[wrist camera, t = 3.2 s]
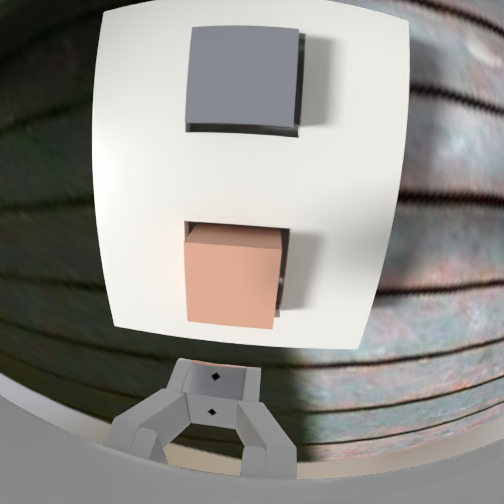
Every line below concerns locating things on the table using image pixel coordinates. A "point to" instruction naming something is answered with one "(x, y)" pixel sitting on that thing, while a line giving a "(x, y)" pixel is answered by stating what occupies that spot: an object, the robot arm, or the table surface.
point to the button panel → (250, 166)
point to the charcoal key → (242, 75)
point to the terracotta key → (232, 274)
